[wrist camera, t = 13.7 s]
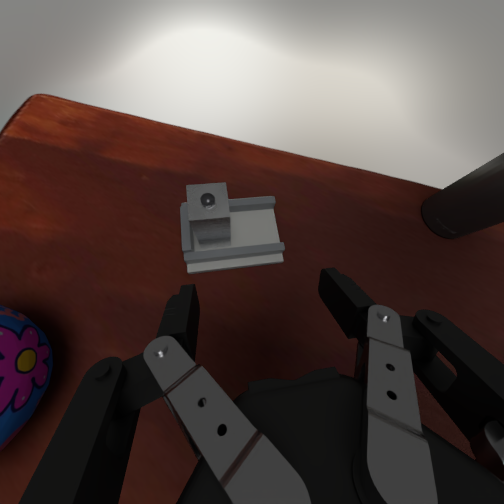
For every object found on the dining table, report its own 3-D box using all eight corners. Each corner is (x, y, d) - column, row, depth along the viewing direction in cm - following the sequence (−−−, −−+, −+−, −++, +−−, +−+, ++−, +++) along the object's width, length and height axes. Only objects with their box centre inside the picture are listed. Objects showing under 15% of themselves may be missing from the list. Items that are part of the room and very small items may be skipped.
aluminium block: (227, 220, 34) (225, 180, 24) (231, 246, 32) (230, 215, 22) (199, 222, 33) (185, 183, 23) (201, 249, 32) (187, 219, 22)
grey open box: (269, 200, 37) (274, 185, 33) (281, 262, 34) (288, 255, 30) (185, 206, 35) (179, 192, 31) (189, 274, 32) (183, 267, 28)
